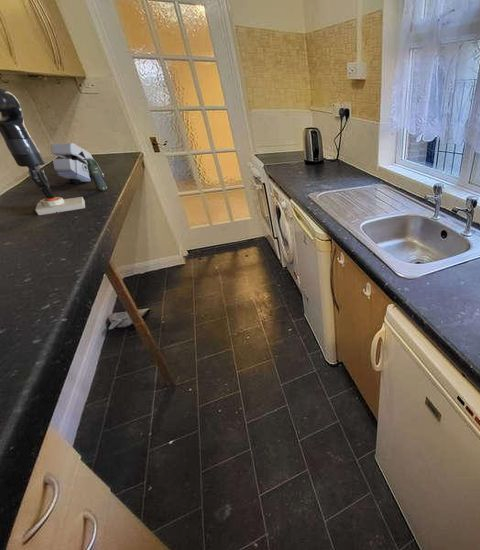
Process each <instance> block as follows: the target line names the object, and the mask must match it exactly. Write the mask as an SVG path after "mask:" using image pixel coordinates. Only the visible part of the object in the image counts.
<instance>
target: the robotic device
mask: <svg viewBox="0 0 480 550" xmlns="http://www.w3.org/2000/svg"><path fill="white" fill-rule="evenodd" d="M50 145H51V146H50V149H51V150H50V151H51V154H52V155H54V156H57V157H59V158H53V159H52V163H53V168H54V170H55V171H56V174H57V176H59V177H61V178H63V179H65V180H68V181H69V182H70V183H72V184H74V185H80V183H88V182H92V180H91V178H92V176H91V174H90V173H89V171H88V167H87V165H88V163H87V161H86V160H83V159H85V158H93V156H92V154H91V153H90V152H89V151H88V150H86V149H84V148H82V147H80V146H79V145H77V144H75V143H73V142H54V143H52V144H50ZM102 175H103V177H104V178H105V173H103V172H102Z"/></svg>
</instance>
